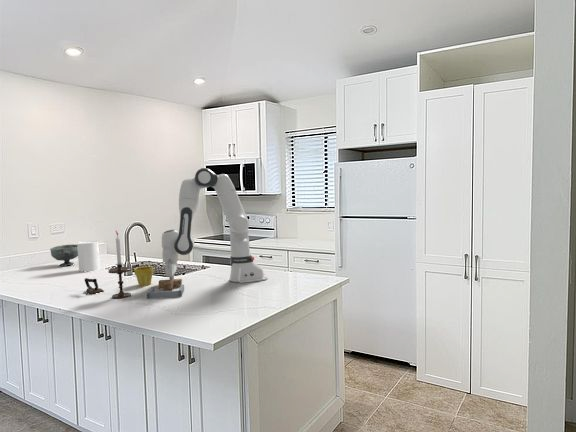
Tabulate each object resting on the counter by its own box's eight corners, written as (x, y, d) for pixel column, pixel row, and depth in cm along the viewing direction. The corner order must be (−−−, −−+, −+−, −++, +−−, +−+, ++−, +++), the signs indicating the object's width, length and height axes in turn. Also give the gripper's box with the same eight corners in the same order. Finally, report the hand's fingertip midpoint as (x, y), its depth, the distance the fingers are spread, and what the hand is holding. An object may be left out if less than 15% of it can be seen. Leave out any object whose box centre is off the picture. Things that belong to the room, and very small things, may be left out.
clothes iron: (92, 296, 221) (87, 278, 221) (82, 298, 227) (76, 281, 227) (104, 291, 226) (99, 274, 226) (93, 294, 233) (88, 277, 233)
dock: (184, 290, 224) (184, 284, 224) (181, 296, 210) (181, 290, 210) (151, 292, 222) (151, 286, 222) (146, 299, 208) (146, 293, 208)
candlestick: (106, 299, 211) (101, 231, 208) (117, 293, 221) (113, 228, 219) (125, 299, 209) (121, 230, 207) (136, 293, 220) (132, 228, 217)
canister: (94, 271, 286) (92, 243, 285) (75, 272, 287) (73, 244, 285) (103, 268, 300) (101, 240, 298) (85, 268, 300) (83, 241, 299)
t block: (181, 285, 235) (181, 278, 235) (179, 290, 223) (179, 283, 223) (160, 287, 234) (159, 280, 233) (156, 292, 222) (156, 284, 221)
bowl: (46, 268, 308) (44, 248, 307) (64, 263, 327) (62, 244, 326) (69, 268, 305) (68, 247, 304) (86, 263, 324) (85, 244, 323)
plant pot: (148, 286, 235) (147, 269, 234) (131, 286, 237) (130, 269, 236) (157, 282, 245) (156, 266, 244) (141, 282, 247) (140, 266, 246)
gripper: (173, 260, 228) (175, 285, 229) (178, 254, 248) (179, 277, 249) (162, 261, 227) (163, 286, 228) (167, 255, 247) (168, 278, 248)
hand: (171, 281), depth 239 cm, fingers closed
